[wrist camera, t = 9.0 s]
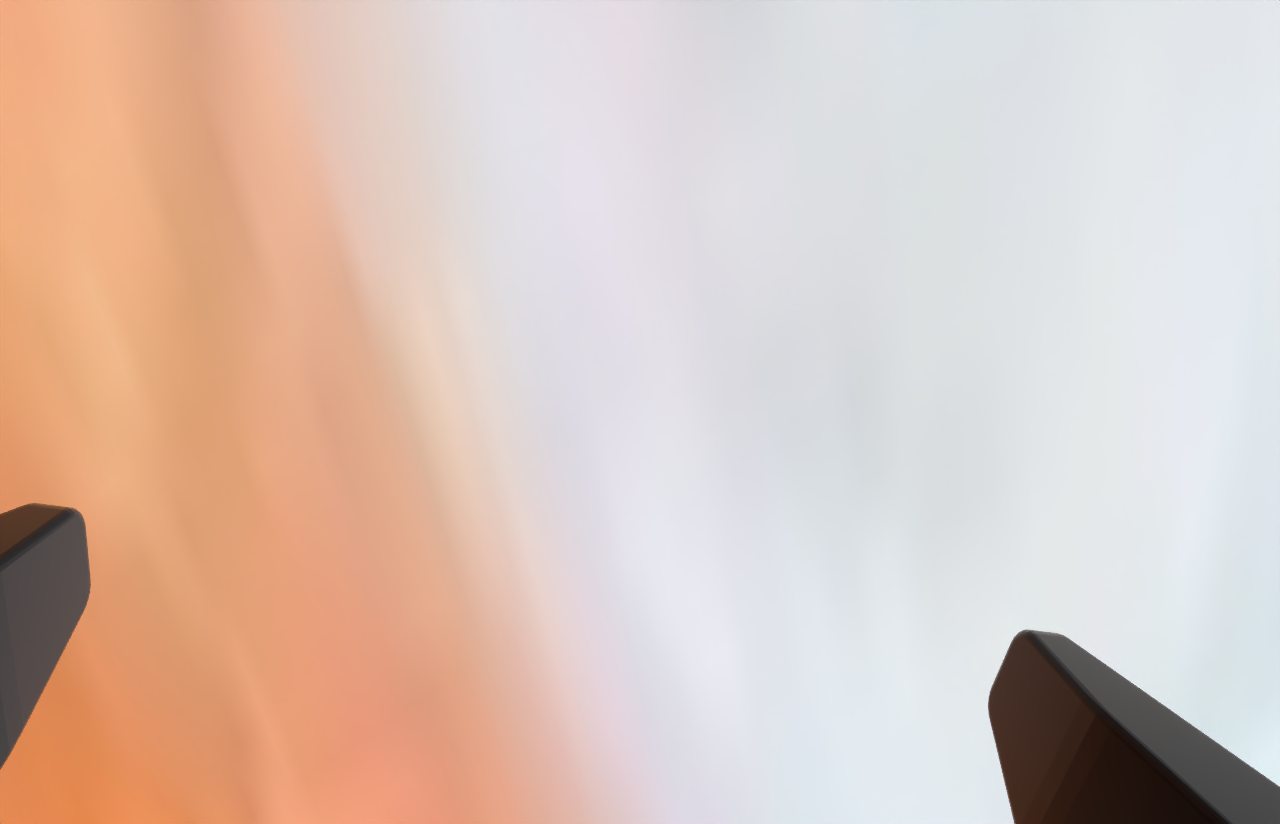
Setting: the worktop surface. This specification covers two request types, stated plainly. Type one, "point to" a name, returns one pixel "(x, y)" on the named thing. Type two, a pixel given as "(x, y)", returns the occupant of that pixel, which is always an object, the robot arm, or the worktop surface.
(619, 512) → the worktop surface
